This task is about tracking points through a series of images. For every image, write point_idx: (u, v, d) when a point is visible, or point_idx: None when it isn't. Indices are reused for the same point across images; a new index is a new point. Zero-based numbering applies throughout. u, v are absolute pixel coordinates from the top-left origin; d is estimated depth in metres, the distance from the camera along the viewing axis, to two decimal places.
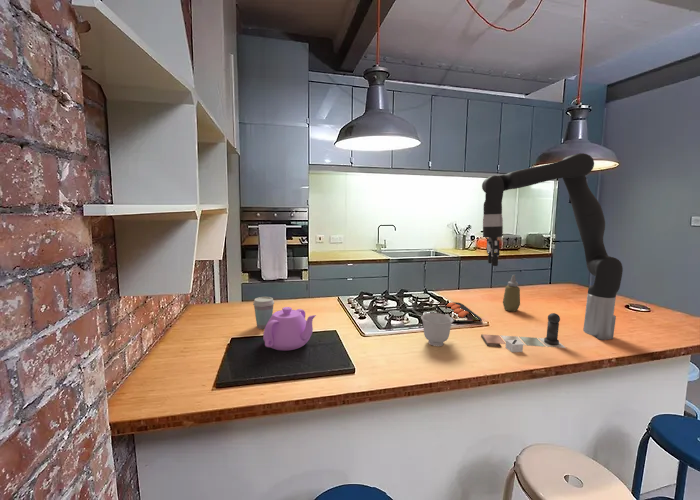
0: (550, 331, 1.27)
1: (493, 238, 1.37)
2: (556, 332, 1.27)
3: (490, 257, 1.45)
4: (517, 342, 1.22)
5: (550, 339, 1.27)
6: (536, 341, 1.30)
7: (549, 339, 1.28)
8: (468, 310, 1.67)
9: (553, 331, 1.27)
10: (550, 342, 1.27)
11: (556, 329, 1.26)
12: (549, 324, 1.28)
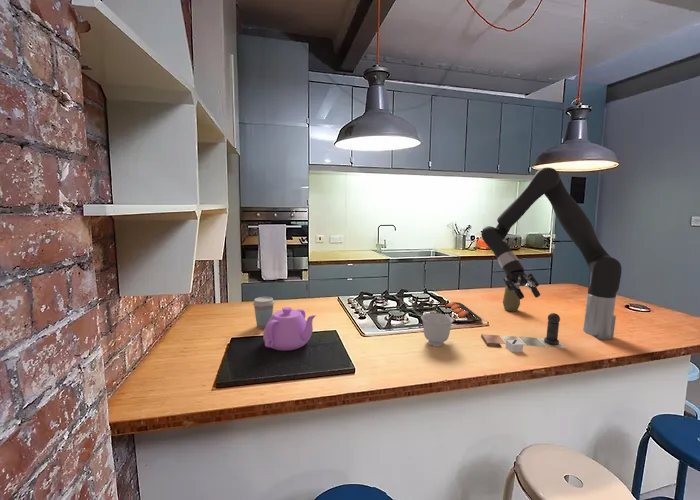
0: (550, 331, 1.27)
1: (509, 275, 1.42)
2: (556, 332, 1.27)
3: (533, 291, 1.40)
4: (517, 342, 1.22)
5: (550, 339, 1.27)
6: (536, 341, 1.30)
7: (549, 339, 1.28)
8: (468, 310, 1.67)
9: (553, 331, 1.27)
10: (550, 342, 1.27)
11: (556, 329, 1.26)
12: (549, 324, 1.28)
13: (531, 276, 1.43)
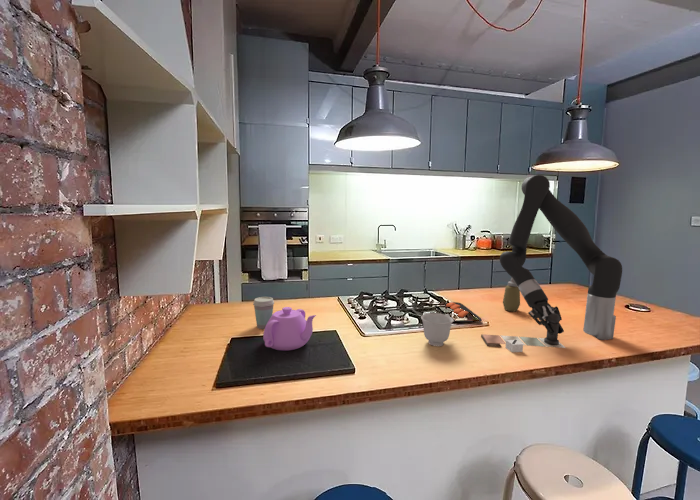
0: None
1: (532, 306, 1.32)
2: (556, 332, 1.27)
3: None
4: (517, 342, 1.22)
5: (550, 339, 1.27)
6: (536, 341, 1.30)
7: (549, 339, 1.28)
8: (468, 310, 1.67)
9: None
10: (550, 342, 1.27)
11: (556, 329, 1.26)
12: None
13: (556, 309, 1.32)
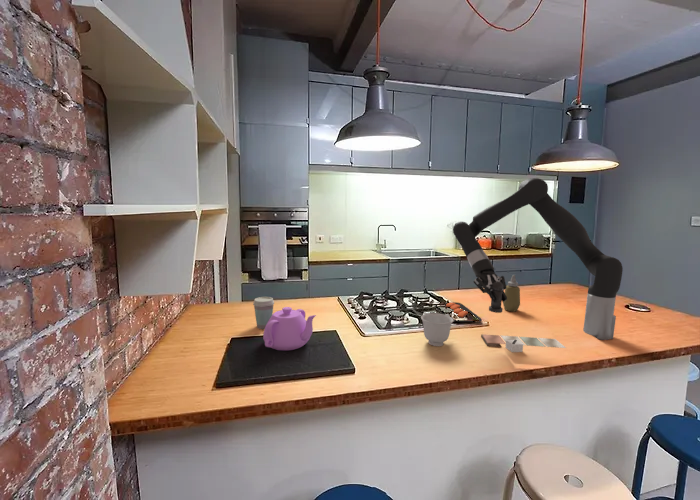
0: None
1: (477, 275, 1.33)
2: (499, 300, 1.28)
3: None
4: (517, 342, 1.22)
5: (494, 307, 1.29)
6: (536, 341, 1.30)
7: (493, 307, 1.29)
8: (468, 310, 1.67)
9: None
10: (493, 310, 1.28)
11: (499, 297, 1.28)
12: None
13: (502, 278, 1.33)
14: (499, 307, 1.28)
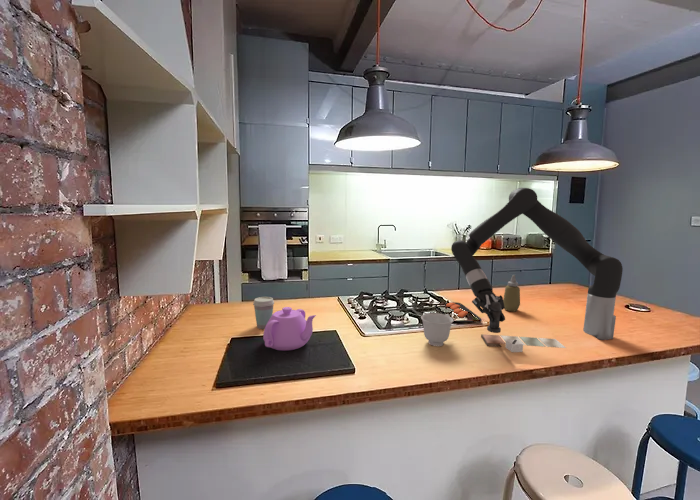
0: None
1: (476, 294, 1.34)
2: (497, 320, 1.29)
3: None
4: (517, 342, 1.22)
5: (492, 327, 1.30)
6: (536, 341, 1.30)
7: (491, 327, 1.30)
8: (468, 310, 1.67)
9: None
10: (492, 330, 1.29)
11: (497, 317, 1.29)
12: None
13: (500, 298, 1.35)
14: (497, 327, 1.29)
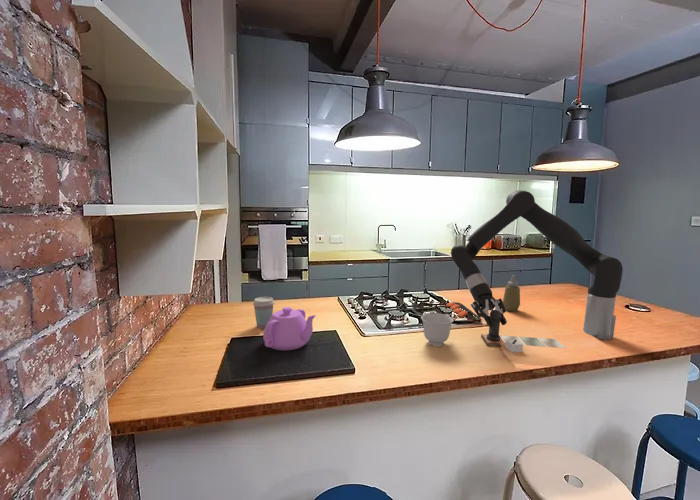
0: (491, 327, 1.30)
1: (476, 299, 1.35)
2: (497, 328, 1.29)
3: (500, 318, 1.32)
4: (517, 342, 1.22)
5: (491, 335, 1.30)
6: (536, 341, 1.30)
7: (490, 335, 1.30)
8: (468, 310, 1.67)
9: (494, 328, 1.29)
10: (491, 338, 1.30)
11: (497, 325, 1.29)
12: None
13: (500, 301, 1.35)
14: (497, 335, 1.30)
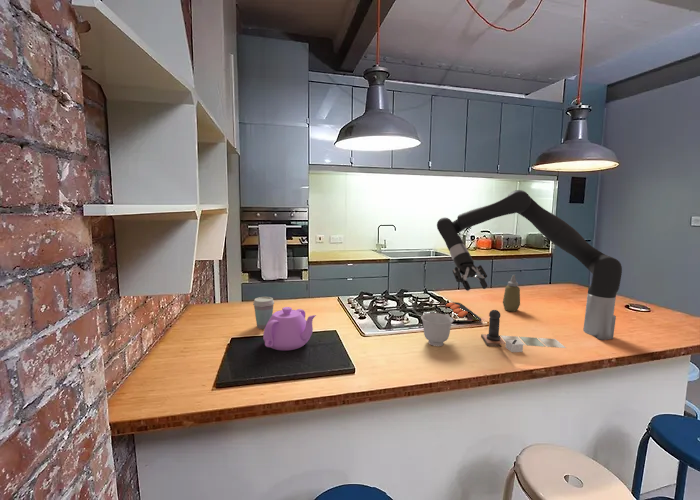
0: (491, 327, 1.30)
1: (458, 267, 1.45)
2: (497, 328, 1.29)
3: (481, 283, 1.43)
4: (517, 342, 1.22)
5: (491, 335, 1.30)
6: (536, 341, 1.30)
7: (490, 335, 1.30)
8: (467, 310, 1.67)
9: (494, 327, 1.29)
10: (491, 338, 1.30)
11: (496, 325, 1.29)
12: (490, 320, 1.30)
13: (480, 268, 1.46)
14: (497, 335, 1.30)
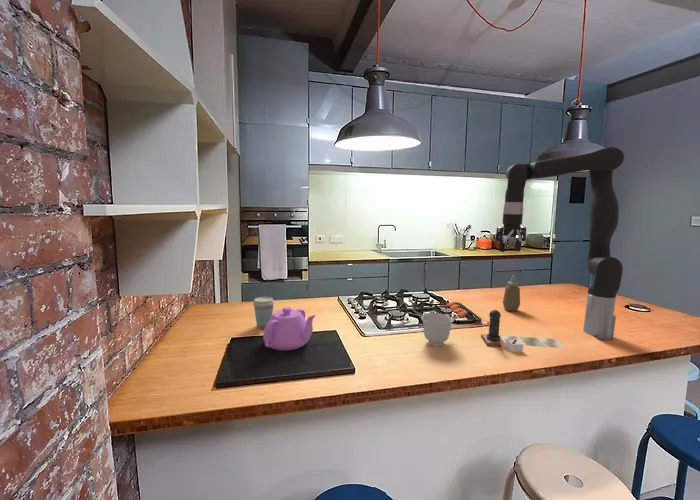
0: (491, 327, 1.30)
1: (504, 225, 1.42)
2: (496, 328, 1.29)
3: (516, 245, 1.46)
4: (517, 342, 1.22)
5: (491, 335, 1.30)
6: (536, 341, 1.30)
7: (490, 335, 1.30)
8: (467, 310, 1.67)
9: (494, 328, 1.29)
10: (491, 338, 1.30)
11: (496, 325, 1.29)
12: (490, 320, 1.30)
13: (524, 230, 1.44)
14: (496, 335, 1.30)
